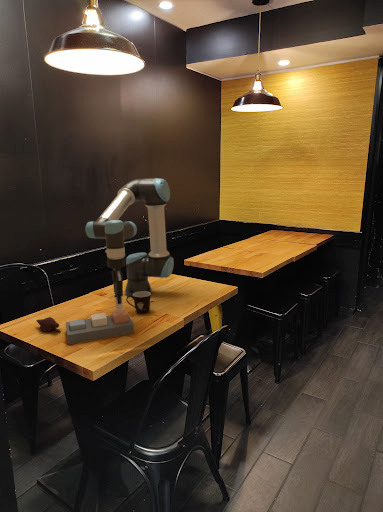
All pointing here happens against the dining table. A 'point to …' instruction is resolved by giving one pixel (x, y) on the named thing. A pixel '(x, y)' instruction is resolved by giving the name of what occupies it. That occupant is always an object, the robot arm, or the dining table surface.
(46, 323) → the dark brown irregular piece
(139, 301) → the coffee mug
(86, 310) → the dining table surface
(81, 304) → the dining table surface
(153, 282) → the dining table surface
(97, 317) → the white key
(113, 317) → the terracotta key
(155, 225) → the robot arm
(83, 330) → the key panel
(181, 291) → the dining table surface
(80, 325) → the slate key
